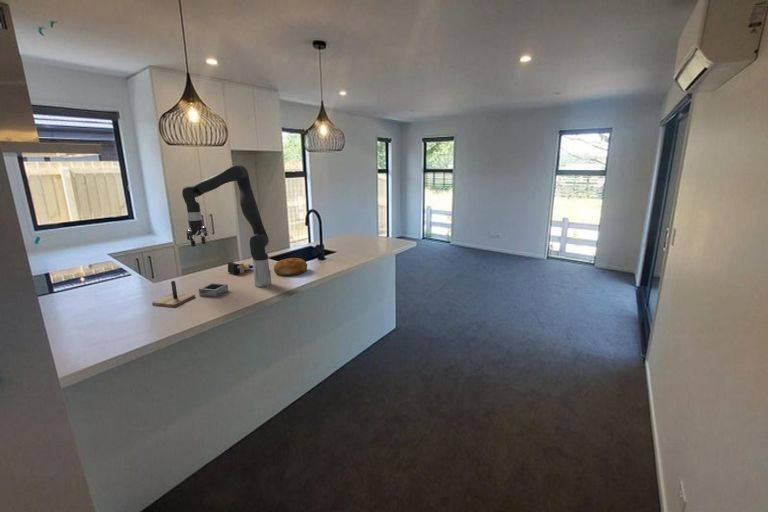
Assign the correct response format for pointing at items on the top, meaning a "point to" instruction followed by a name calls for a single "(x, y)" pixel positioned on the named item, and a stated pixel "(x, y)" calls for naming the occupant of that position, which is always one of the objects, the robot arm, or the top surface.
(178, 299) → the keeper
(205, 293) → the link
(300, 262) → the bread
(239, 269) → the toy
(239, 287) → the top surface
